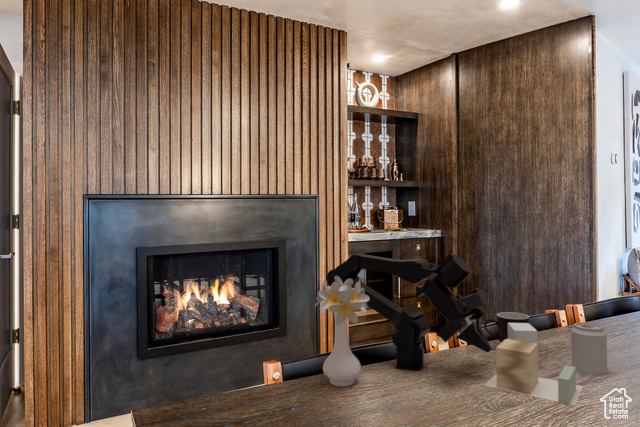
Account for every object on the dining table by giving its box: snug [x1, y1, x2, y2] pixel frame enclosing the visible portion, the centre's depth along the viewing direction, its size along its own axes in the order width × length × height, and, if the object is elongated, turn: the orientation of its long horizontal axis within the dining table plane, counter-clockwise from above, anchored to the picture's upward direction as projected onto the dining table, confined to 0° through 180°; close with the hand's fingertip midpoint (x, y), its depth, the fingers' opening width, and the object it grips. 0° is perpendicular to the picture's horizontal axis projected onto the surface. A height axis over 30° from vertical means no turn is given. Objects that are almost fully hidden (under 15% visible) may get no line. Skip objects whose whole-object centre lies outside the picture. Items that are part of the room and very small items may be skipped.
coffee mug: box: [483, 311, 530, 343], centre depth 128 cm, size 12×9×10 cm
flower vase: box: [313, 276, 370, 387], centre depth 106 cm, size 13×18×25 cm
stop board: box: [557, 365, 577, 405], centre depth 94 cm, size 2×9×5 cm, turn 142°
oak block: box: [495, 339, 539, 394], centre depth 100 cm, size 7×8×9 cm
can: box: [570, 321, 608, 376], centre depth 109 cm, size 8×8×12 cm
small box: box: [508, 323, 539, 345], centre depth 114 cm, size 8×6×10 cm
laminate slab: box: [484, 373, 584, 407], centre depth 99 cm, size 18×12×1 cm, turn 52°
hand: (489, 350), depth 104 cm, fingers closed
